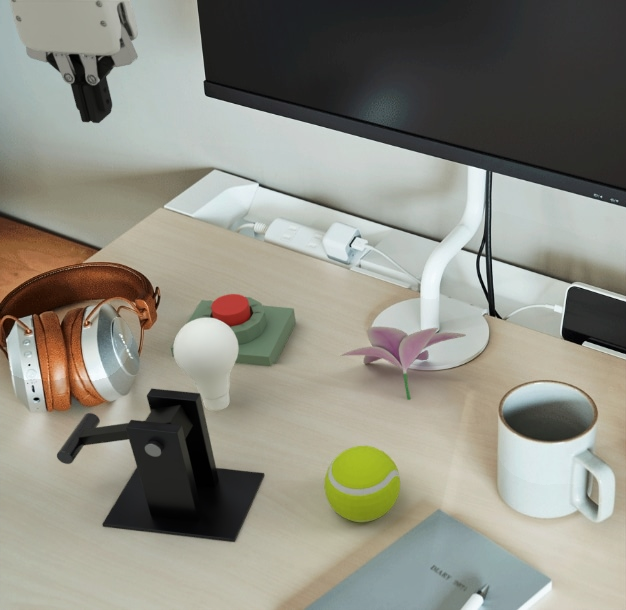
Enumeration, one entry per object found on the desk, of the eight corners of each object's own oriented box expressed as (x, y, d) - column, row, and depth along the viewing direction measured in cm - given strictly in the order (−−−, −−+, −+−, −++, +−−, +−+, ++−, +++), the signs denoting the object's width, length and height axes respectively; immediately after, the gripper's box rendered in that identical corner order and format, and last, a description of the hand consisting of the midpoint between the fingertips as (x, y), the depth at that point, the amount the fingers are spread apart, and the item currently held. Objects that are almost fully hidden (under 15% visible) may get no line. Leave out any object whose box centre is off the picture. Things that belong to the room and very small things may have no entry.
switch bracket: (104, 533, 81) (72, 435, 74) (143, 468, 88) (117, 372, 81) (236, 548, 80) (215, 451, 73) (265, 481, 87) (249, 386, 80)
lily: (482, 383, 100) (465, 297, 99) (445, 415, 89) (427, 319, 88) (382, 394, 104) (365, 311, 103) (335, 426, 93) (316, 334, 92)
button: (208, 326, 100) (205, 313, 99) (221, 305, 103) (218, 292, 102) (243, 329, 100) (241, 316, 99) (255, 308, 103) (253, 295, 102)
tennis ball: (379, 548, 80) (375, 494, 76) (313, 524, 82) (306, 470, 79) (414, 495, 85) (412, 442, 82) (351, 474, 87) (346, 421, 84)
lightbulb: (176, 424, 93) (155, 337, 86) (205, 385, 98) (187, 301, 91) (232, 434, 92) (215, 347, 85) (258, 395, 96) (244, 310, 90)
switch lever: (64, 469, 79) (50, 449, 78) (92, 429, 83) (78, 409, 82) (176, 454, 76) (163, 433, 75) (199, 414, 80) (187, 393, 79)
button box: (173, 363, 101) (167, 334, 98) (204, 315, 108) (199, 286, 106) (271, 372, 100) (266, 343, 97) (295, 323, 107) (292, 295, 104)
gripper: (148, -81, 84) (183, 107, 95) (-5, -89, 86) (46, 97, 97) (111, -60, 78) (152, 138, 89) (-53, -69, 80) (7, 127, 90)
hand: (97, 116), depth 93 cm, fingers closed
